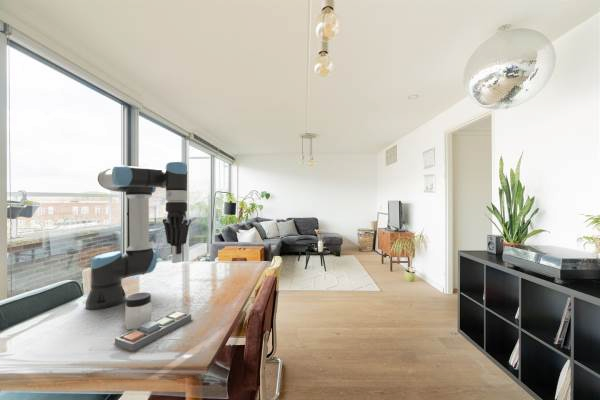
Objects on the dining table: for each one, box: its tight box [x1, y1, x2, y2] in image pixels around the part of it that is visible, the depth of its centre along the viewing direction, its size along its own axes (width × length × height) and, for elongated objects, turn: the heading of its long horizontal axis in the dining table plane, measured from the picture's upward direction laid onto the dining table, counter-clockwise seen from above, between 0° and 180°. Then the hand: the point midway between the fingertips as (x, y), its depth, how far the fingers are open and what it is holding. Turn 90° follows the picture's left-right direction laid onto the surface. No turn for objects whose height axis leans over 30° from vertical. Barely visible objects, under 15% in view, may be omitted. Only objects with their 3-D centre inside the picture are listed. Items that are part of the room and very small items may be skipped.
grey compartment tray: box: [112, 310, 194, 353], centre depth 91 cm, size 11×23×4 cm, turn 156°
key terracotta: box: [123, 331, 144, 343], centre depth 84 cm, size 4×4×2 cm
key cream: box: [168, 311, 186, 320], centre depth 99 cm, size 4×4×2 cm
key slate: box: [140, 320, 159, 334], centre depth 89 cm, size 4×4×2 cm
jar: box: [124, 292, 153, 330], centre depth 97 cm, size 9×8×12 cm
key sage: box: [156, 318, 173, 327], centre depth 94 cm, size 4×4×2 cm
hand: (176, 262), depth 99 cm, fingers closed
